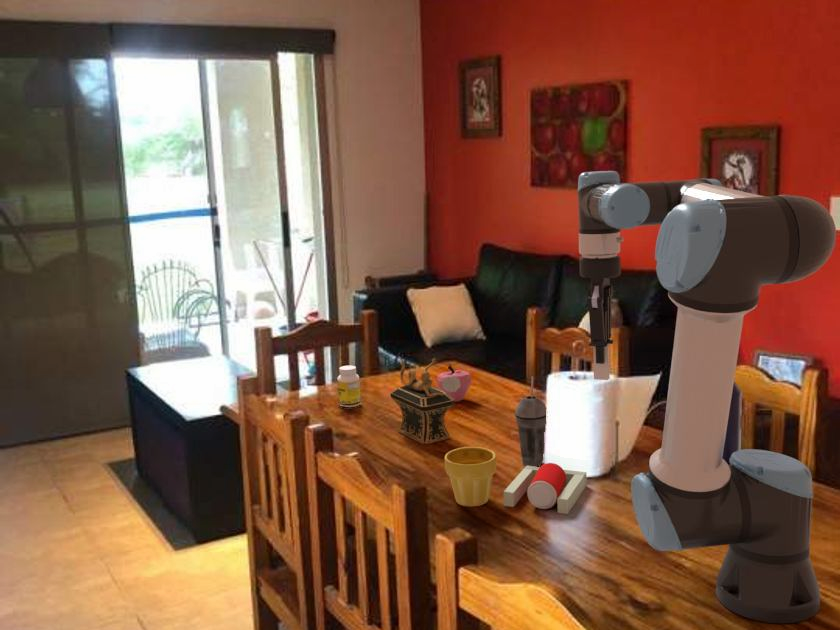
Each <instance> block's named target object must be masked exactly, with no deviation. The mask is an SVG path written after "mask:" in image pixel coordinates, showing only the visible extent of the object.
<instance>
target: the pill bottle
mask: <svg viewBox="0 0 840 630" xmlns="http://www.w3.org/2000/svg"><path fill="white" fill-rule="evenodd" d="M336 379H337V380H336V381H337V394H338V395H337V396H338V406H339V405H340V406H345V407H352V406H357V405H359V404H360V405H361V403H362V398H361V384H360V381H361V380H360V376H359V374H357V367H356V366H355V365H343V366H339V375H338V376H337V378H336ZM340 406H339V407H340Z"/></svg>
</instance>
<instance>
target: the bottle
mask: <svg viewBox="0 0 840 630" xmlns="http://www.w3.org/2000/svg"><path fill="white" fill-rule="evenodd" d="M742 405H743V390H742V389H741V387H740V386H739V385H738V383H736V381H734V384H733V390H732V397H731V403H730V410H729V417H728V423H727V430H726V436H725V443H724V450H723V456H722V458H723V459H724V460H725V461H726V463H727V464H728V465H730V461H729V459H730V458H731V455H732V453H734V452H736V451H738V450H742V409H743V407H742Z"/></svg>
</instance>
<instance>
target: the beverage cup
mask: <svg viewBox="0 0 840 630" xmlns="http://www.w3.org/2000/svg"><path fill="white" fill-rule="evenodd" d="M530 379H531V380H530V395H528V396H525V397H524V398H522V399H520V400H519V402H518V403H517V405H516V408H515V413H514V416H515V420H516V423H517V429H518V437H519V444H520V445H519V446H520V452H521V453H520V456H521V460H522V465H523V466H524V467H526V466H535V467H537V466H539V465H541V464H542V461H543V462H544V457H543V454H544V455H545V443H544V432H545V433H546V428H545V426H547V422H546V409H547V407H546V404H545V402H544V401H543V400H542V399H541V398H539V397H537V396H534V376H533V375H531V377H530ZM542 465H543V464H542ZM542 465H541V466H542ZM539 467H540V466H539Z"/></svg>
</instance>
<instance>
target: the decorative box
mask: <svg viewBox="0 0 840 630" xmlns="http://www.w3.org/2000/svg"><path fill="white" fill-rule="evenodd" d="M397 357H398V358H399V359H400V361H399V364H400V365H401V368H400V373H399V379H400V381H401V383H402V385H403V386H399V387H397V388H396V389H393V390H392V391H391V392H390V395H389V396H390V397H391V399H392V400H393V402H395V403H396V404H397V405H398V406H399V408H400V410H401V415H402V417H401V422H400V424H399V427H398V429H397V432H398V433H400V434H402V435H404V436H406V437H407V438H409V439H412V440H414V441H416V442H418V443H419V444H422V445H429V443H430V444H433V442H434V443H436V442H437V443H438V442H441V441H445V440H448V439H450V438H451V436H450V433H449V431H448V430H447V427H446V425H445V416H446V413H447V412H448V411H449V410H450V409H451V408H452V407H453V406H455V403H456V402H455V401H454V399H453V398H452V397H450V396H449V395H448V394H447V393H445V392H443V391H441V390H440V389H439V388H435V387H432V384H433V379H431V375H430V372H429V369H430V368H431V367H432V365H434V364H436V363H437V362H438V360H436V357H433V358H432V360H431V363H428V365H427V366H425V368H424V371H423V372H422V374H421V376H420V377H421V380H419V379H418V378H416V376H417V370H416V369H415V368H411V369H409V371H408V377H407V378H408V382H405V380H404V373H405V370H406V365H405V361H404V360H403V359H402V358H401V356H397Z"/></svg>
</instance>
